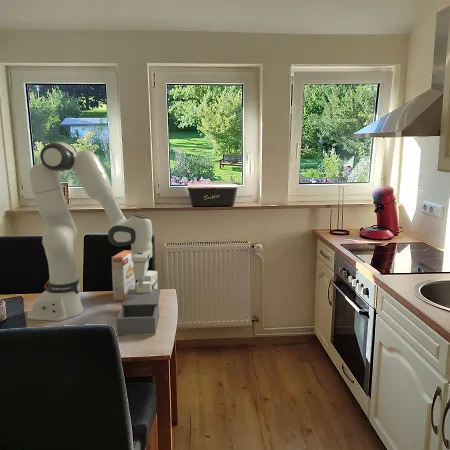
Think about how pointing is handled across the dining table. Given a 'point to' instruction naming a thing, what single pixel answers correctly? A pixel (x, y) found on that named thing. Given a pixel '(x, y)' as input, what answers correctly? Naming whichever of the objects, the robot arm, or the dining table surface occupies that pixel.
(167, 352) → the dining table surface
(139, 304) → the lid
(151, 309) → the base
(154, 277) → the ink box
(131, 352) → the dining table surface
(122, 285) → the cracker box
